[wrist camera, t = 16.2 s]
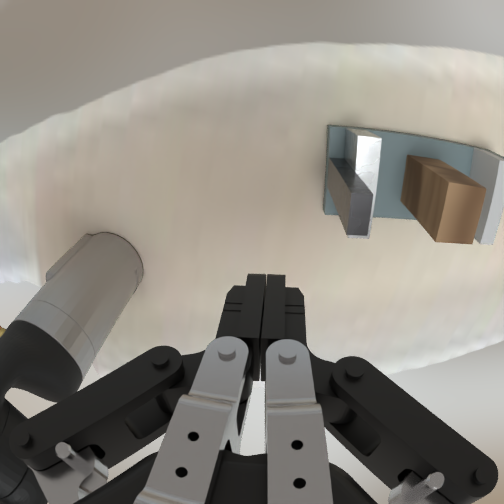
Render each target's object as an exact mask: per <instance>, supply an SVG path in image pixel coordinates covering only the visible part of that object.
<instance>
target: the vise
mask: <svg viewBox="0 0 504 504" xmlns="http://www.w3.org/2000/svg"><path fill="white" fill-rule="evenodd" d="M346 128H350V129H361V130H367V131H369V132H371V133H373V134H375V135H377V136H379V137H380V138H382V141H381V152H380V163H379V172H378V181H377V189H376V197H375V204H374V211H373V217H382V218H398V219H413V220H417V219H416V218H415V217H414V216H413V215H412V214H411V212H410V211H409V210H408V209H407V208H406V207H405V206H404V205H403V203H402V202H401V201H400V199H401V193H402V187H403V180H404V173H405V166H406V158H407V155H414V156H420V157H427V158H433V159H439V160H441V161H443V162H445V163H446V164H448V165H450V166H452V167H453V168H455V169H457V170H458V171H460V172H462V173H463V174H465V175H466V176H468V177H470V178H471V179H473V180H474V181H476V182H477V183H479V184H480V185H482V186H483V187H485V188H486V194H485V198H484V203H483V207H482V211H481V215H480V219H479V222H478V226H477V229H476V233H475V236H474V238H475V239H476V240H477V241H478V242H479V244H487V245H493V243H494V239H495V236H496V233H497V230H498V226H499V223H500V219H501V215H502V212H503V208H504V157H503V156H500V155H498V154H496V153H494V152H492V151H490V150H487V149H483V148H479V147H474V146H470V145H466V144H461V143H457V142H452V141H447V140H442V139H437V138H431V137H426V136H420V135H414V134H407V133H400V132H393V131H386V130H377V129H369V128H359V127H348V126H336V125H328V133H327V156H326V175H325V190H324V204H323V210H324V214H325V215H338V212H337V210H336V207H335V205H334V202H333V200H332V197H331V195H330V193H329V190H328V188H327V183H328V167H329V158H342V159H344V157H345V140H346Z"/></svg>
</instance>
